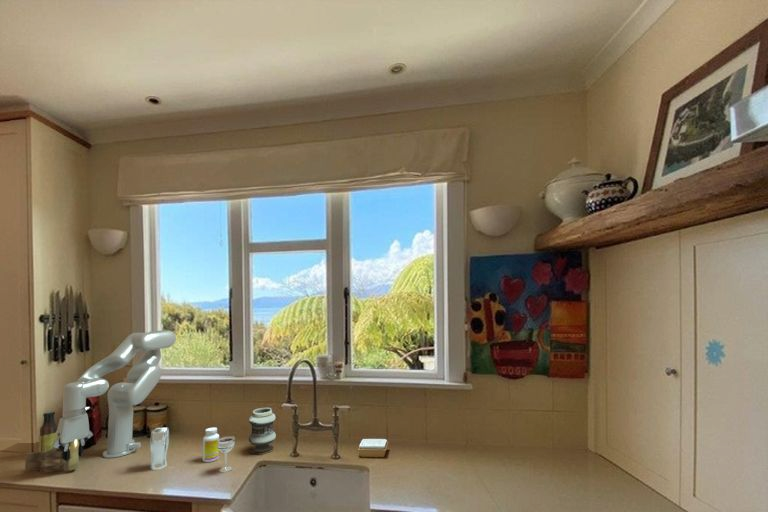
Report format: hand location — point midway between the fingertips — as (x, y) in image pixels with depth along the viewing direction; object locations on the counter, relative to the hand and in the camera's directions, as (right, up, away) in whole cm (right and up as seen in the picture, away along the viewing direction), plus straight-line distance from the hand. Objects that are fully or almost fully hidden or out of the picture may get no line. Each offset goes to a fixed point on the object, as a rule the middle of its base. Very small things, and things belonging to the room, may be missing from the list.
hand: (72, 457), depth 160 cm
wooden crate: (-14, -7, +7) cm, 17 cm away
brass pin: (0, -4, 0) cm, 4 cm away
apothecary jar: (+74, -6, +18) cm, 76 cm away
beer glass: (+35, -5, +2) cm, 35 cm away
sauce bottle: (-24, -8, +15) cm, 30 cm away
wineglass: (+65, -4, -2) cm, 65 cm away
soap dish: (+126, -4, +11) cm, 126 cm away
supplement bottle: (+54, -5, +8) cm, 55 cm away
